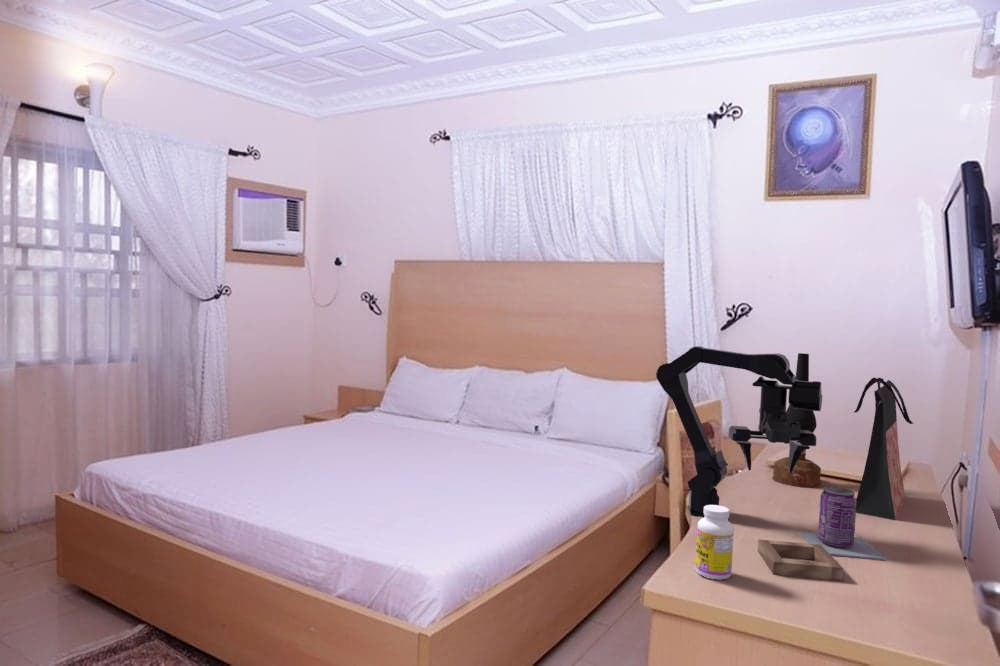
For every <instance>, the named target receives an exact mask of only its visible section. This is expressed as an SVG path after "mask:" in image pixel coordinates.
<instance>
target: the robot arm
mask: <svg viewBox="0 0 1000 666" xmlns="http://www.w3.org/2000/svg"><path fill="white" fill-rule="evenodd" d="M700 363H702V364H708V365H713V366H714V365H715V366H720V367H721V366H722V367H727V368H733V369H734V368H735V369H741V370H745V371H748V372H751V373H753V374H756V375H758V376H759V377H758V378H757V379H756V380H755V381H754V382H752V386H753V387H760V388H761V389H760V401H759V403H760V404H759V410H758V412H759V419H758V420H759V423H758V425H757V426H758V427H757V429H758V430H751V429H749V428H748V427H747V426H746V425H745V426H743V425H742V426H741V425H731V426H730V427H729V428H728V437H729V438H730V439H731V441H733V442H735V443H736V444H737V445H739V447H740V449H741V451H742V454H743V457H744V460H745V464H746V467H747V470H748V471H751V470H752V454H751V453H752V452H751V451H752V450H751V448H752V442H750V440H751V439H757V440H758V439H760V440H767V441H768V442H769V443H771V444H772V443H773V444H776V443H780V444H781V443H782V444H786V445H787V444H788V443H790V446H789V451H788V457H789V461H788V472H789V473H792V471H793V468H794V466H795V464H796V462H797V460H798V458H799V456H800V454H801V453H802V452H803V451H804V450H805V449H806V450H809V449H810V448H811V447H816V446H817V436H816V435H815V434H814V432H813V433H812V432H810V431H808V430H800V423H799V422H790V423H788V421H787V413H786V411H787V398H788V404H791V405H793V408H794V409H802V410H812V411H813V412H821V411H822V405H823V394H822V393H823V392H822V382H821V381H818V380H817V381H816V380H814V381H810V380H809V381H798V380H797V378H796V374H795V373H793V371H792V370H791V368H790V367H791V364H790V360H789V359H788V358H787V357H786V355H784V354H781V353H754V354H753V353H752V354H749V353H743V352H735V351H728V350H721V349H714V348H707V347H703V346H701V345H699V346H698V345H697V346H692V347H690V348H689V349H688V350H687V351H685V352H684V353H683V354H681V355H679V356H678V357H677V358H675V359H674V360H672V361H671V362H666V363H663V364H661V365H659V367H658V368H657V370H656V373H655V376H656V380H657V381H658V383H659V384H660V386H661V388H662V390H663V391H664V392H665V393H666V395H667V396H668V397H670V399H671V400H672V402H673V405H674V407H675V409H676V412H677V415H678V417H679V419H680V421H681V425H682V426H683V429H684V431H685V434H686V436H687V438H688V441H689V443H690V445H691V449H692V450H693V451H692V452H693V454H694V466H695V471H696V475H695V476H693V477H692V478H690V479H689V480H688V481H687V485H688V488H689V492H688V493H689V495H688V496H689V497H688V498H689V499H688V505H687V511H688V512H689V514H690V515H691V516H701V517H703V516H704V517H705V515H704V513H703V512H704V506H706V505H719V506H720V496H719V494H718V489H717V488H716V487H718V486H719V485H718V484H720V483H721V482H722V481H723V480H724V479H725V478H726V476H727V474H728V469H727V468H728V467H727V466H729V463H728V462H727V461H726V460H725V458H724V453H723V451H722V450H721V449H720V450H718V451H716V449H715V448H714V447H712V445H711V443H710V441H709V438H708V435H707V434H706V431H705V429H704V426H703V424H702V422H701V419H700V416H699V414H698V412H697V410H696V408H695V404H694V402H693V400H692V398H691V395H690V393H689V380H688V377H687V374H688V373H689V372H690V371H692V370H693V369H694V368H696V366H698V365H699V364H700ZM765 378H767V379H765ZM779 382H780V384H779ZM787 395H788V397H787ZM790 441H793V442H790ZM788 445H789V444H788Z"/></svg>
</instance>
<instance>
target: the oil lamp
mask: <svg viewBox="0 0 1000 666" xmlns="http://www.w3.org/2000/svg"><path fill="white" fill-rule="evenodd" d="M809 358H810V354H809V353H801V352H797V361H796V368H795V369H796V370H795V377H796V378H797V380H798V381H809V382H810V374H809V373H810V372H809V371H810V363H809V362H810V359H809ZM788 404H789V403H788ZM814 412H815V411H812V410H802V409H794V408H793V405H791V404H789V405H788V407H787V408H786V413H787V421H788V423H790V422H799V423H800V430H808V431H810V432H812V433H813V434H814V432H815V430H816V428H817V426H818V425H817V419H816V418H817V417H816V416H815V413H814ZM790 442H793V441H790ZM788 446H789V447H790V443H788ZM806 450H807V449H805V450H804V451H803V452H802V453H801V454H800V456H799V458H798V460H797V462H796V464H795V466H794V468H793V471H792V473H789V472H788V461H789V456H784V457H782V458H779V459H777V460H775V461H774V462H773V472H772V474H773V476H772V478H771V479H772V480H773V481H774V482H777V483H778V482H779V484H781V483H782V485H786V486H789V485H790V486H791V487H795V486H796V487H797V488H809V489H810V488H819V487H821V485H822V483H821V476H822V475H821V473H822V470H821V466H820V465H818V464H816V463H815V462H814V461H812V460H811V459H808V458H806V455H807V453H806Z"/></svg>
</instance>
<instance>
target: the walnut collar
mask: <svg viewBox="0 0 1000 666" xmlns="http://www.w3.org/2000/svg"><path fill="white" fill-rule="evenodd" d="M757 552H758V554H759V555H760V557H761V558H762V560H763V561H764V563H765V564H766V566H767V567H768V569H769V571H770V572H771V574H772V575H776V576H786V577H787V576H788V577H795V578H796V577H797V578H798V577H799V578H806V579H807V578H808V579H809V578H810V579H817V580H818V579H819V580H820V579H821V580H827V581H828V580H830V581H831V580H832V581H841V582H843V573H844V567H843V566H842V565H841V564H840V563H839V562H838V561H837V560H836V559H835V558H834V556H831V555H830V554H829V553H828V552H827V551H826V550H825V548H824V547H823V546H822V545H818V544H809V543H807V542H806V543H805V542H803V543H802V542H794V541H793V542H792V541H782V540H781V541H780V540H769V539H760V538H759V539H757ZM782 557H783V558H782ZM785 557H788V558H790V559H787V558H786V559H785ZM791 558H797V559H791ZM798 559H799V560H798ZM800 559H807V560H800ZM810 560H811V561H810ZM812 560H813V561H812Z"/></svg>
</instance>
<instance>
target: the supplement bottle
mask: <svg viewBox="0 0 1000 666" xmlns="http://www.w3.org/2000/svg"><path fill="white" fill-rule="evenodd" d="M703 513H704V515H705V516H704V517H702V518H700V520H698V522H697V529H696V530H697V531H696V532H697V533H696V547H695V548H696V549H695V565H694V566H695V572H697V574H698V575H699V576H701V575H702V576H701V577H703V576H704V577H703V578H705V577H707V578H706V579H709V578H710V580H714V579H717V580H716V581H720V580H722V581H723V579H724V580H727V579H729V578H730V577H731V576H732V570H733V568H732V566H733V551H734V550H733V549H734V534H735V527H734V526H733V525H734V524H732V522H730V521H729V520H728V519H729V517H730V509H729V508H728V507H727V506H724V505H720V504H719V505H706V506H704V512H703Z"/></svg>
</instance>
